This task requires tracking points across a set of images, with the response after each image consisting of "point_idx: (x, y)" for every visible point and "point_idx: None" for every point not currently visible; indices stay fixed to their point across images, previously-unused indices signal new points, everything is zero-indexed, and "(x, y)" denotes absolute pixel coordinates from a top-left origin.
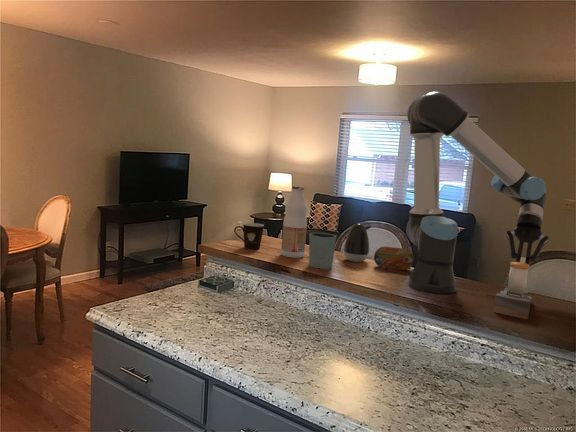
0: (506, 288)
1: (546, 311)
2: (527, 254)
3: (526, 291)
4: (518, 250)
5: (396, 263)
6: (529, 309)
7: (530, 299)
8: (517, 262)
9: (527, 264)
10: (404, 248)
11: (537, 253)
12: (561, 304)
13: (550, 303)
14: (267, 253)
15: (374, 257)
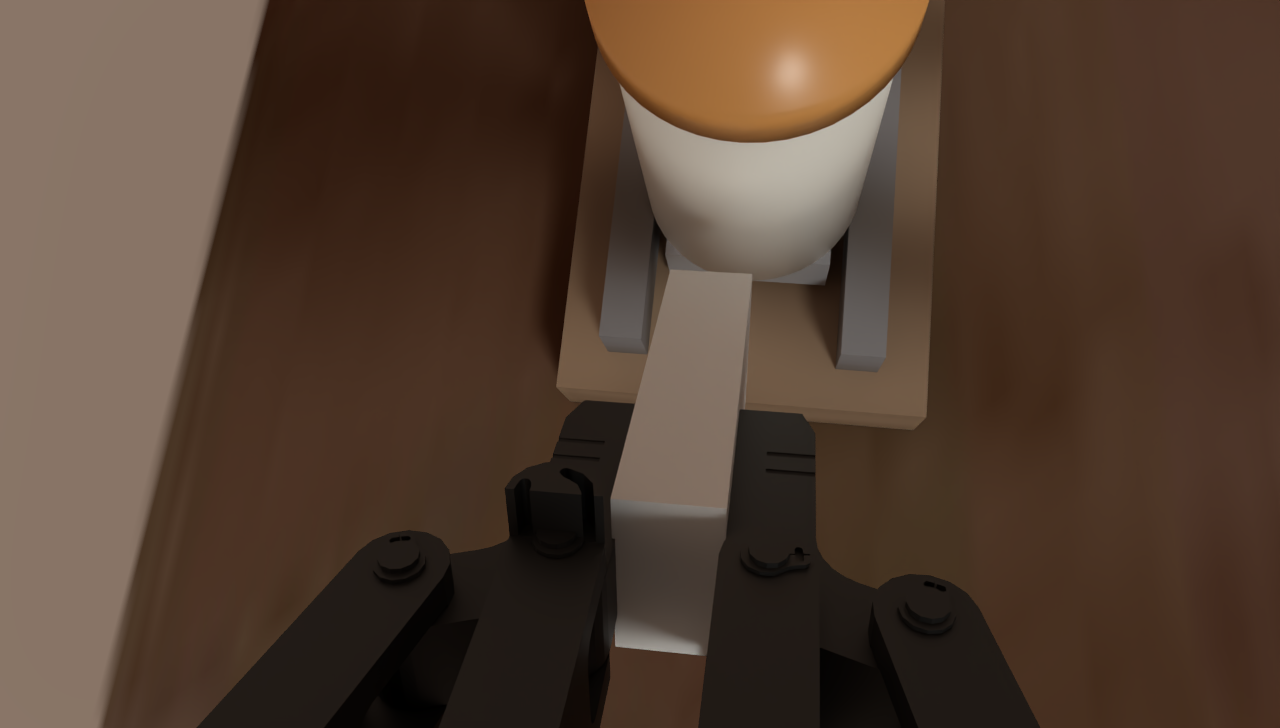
0: (869, 306)
1: (443, 161)
2: (563, 588)
3: (617, 335)
4: (805, 692)
5: None
6: None
7: (581, 238)
8: (800, 48)
9: (613, 3)
10: None
11: (297, 635)
12: (225, 601)
13: (345, 553)
14: None
15: None
